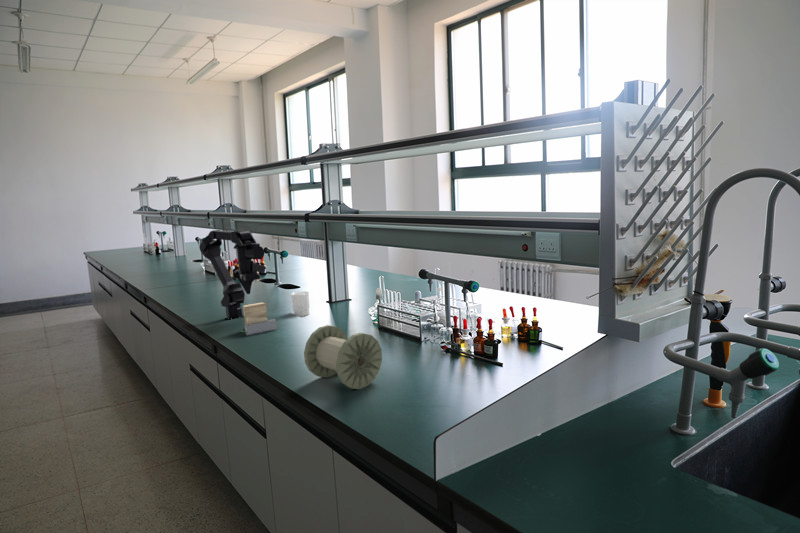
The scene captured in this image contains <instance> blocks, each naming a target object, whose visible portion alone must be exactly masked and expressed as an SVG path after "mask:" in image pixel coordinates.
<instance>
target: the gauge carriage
mask: <svg viewBox="0 0 800 533" xmlns="http://www.w3.org/2000/svg"><path fill="white" fill-rule="evenodd" d="M242 309H243V310H242V312H243V315H244V317H243V319H244V326H245V325H246V324H251V323H256V322H261V321H266V320H268V314H267V313H268V312H267V304H266V302H265V303H264V302H256V303H250V304H244V305H243V306H242ZM242 331H245V328H243V329H241V332H242Z"/></svg>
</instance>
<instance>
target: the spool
mask: <svg viewBox="0 0 800 533" xmlns="http://www.w3.org/2000/svg"><path fill="white" fill-rule="evenodd" d="M303 357H304V364H305V365H306V368H307V370H308V371H309V372H310V373H312V374H313V375H314V376H317V377H319V378H329V377H331V376H335V375H337V376H338V379H339V380H340V382H341V383H342V384H343V385H345V387H347V388H350V389H353V390H354V389H356V390H361V389H363V388H365V387H368V386H369V385H371V383H372V382H374V380H375V379H376V377H377V376H378V374H379V372H380V370H381V366H382V361H383V354H382V348H381V345H380V343H379V341H378V339H377V338H375V337H374V336H373V335H372V334H367V333H363V332H359V333H355V334H352V335H350V336H349V337H347V335H346V333H345V332H344V331H343V330H342V329H341V328H340V327H337V326H335V325H334V326H333V325H328V324H327V325H324V326H320V327H318V328H316V329H315V330H314V331H313V332H312V333H311V334H310V335H309V338H308V339H307V340H306V343H305V346H304V350H303Z"/></svg>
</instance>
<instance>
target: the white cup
mask: <svg viewBox="0 0 800 533" xmlns="http://www.w3.org/2000/svg"><path fill="white" fill-rule="evenodd" d="M290 298H291V304H292V310H293V314H294V316H297V317H300V318H301V317H306V316H309V315H310V292H309V291H305V290H304V291H296V292H295V291H294V292H292V293H291V294H290Z"/></svg>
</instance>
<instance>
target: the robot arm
mask: <svg viewBox="0 0 800 533" xmlns="http://www.w3.org/2000/svg"><path fill="white" fill-rule="evenodd" d="M223 241H230V242H231V243H233V244H234V247H233V249H234V250H236V255H237V261H236V265H238V269H235V270H234V272H233V277H234V278H237V277H239V278H237V280H238V281H239V282H234V279H233V278H232V275H231V274H230V271H229V270H228V267H227V266H226V264H225V262H224V260H223V258H222V256H221V252H222V248H221V246H222V244H223ZM199 251H200V252H201V254H202V256H204V257H205V258H206V259H207V260H208V261H209V262H210V263H211V265H212V267H213V269H214V270H215V273H216V275H217V277H218V279H219V280H220V283H221V284H222V287H223V290H222V295H223V297H222V299H221V301H220V304H221V307H225V312H226V317H228V318H229V319H228V320H231V318H232V320H235V319H236V318H237V319H240V318H239V317H241V318H243V317H242V316H243V315H244V314H243V310H242V309H243V308H242V306H241V304H244V303H245V296H246V295H245V293H246V294H247V295H250V294H251V291H252V290H251V289H252V284H253V282H254V281H257V280H260V279H261V274H265V272H266V268H267V266H266V265H261V263H260V262H257V261H254V260H262V259H263V258H264V257H265V250H264V248H263V247H262V246H261V244H260V242H257V240H256V239H255V237H254V236H253V234H252V232H251V231H250V230H249V229H241V230H233V231H232V230H221V229H216V230H215V229H213V230H211V231H209V233H208V234H207V235H206V236H205V237H204V238H203V239H202V240H201V242H200V244H199ZM260 273H261V274H260Z"/></svg>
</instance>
